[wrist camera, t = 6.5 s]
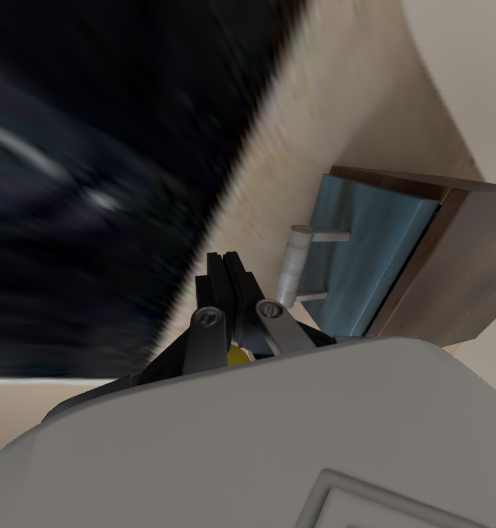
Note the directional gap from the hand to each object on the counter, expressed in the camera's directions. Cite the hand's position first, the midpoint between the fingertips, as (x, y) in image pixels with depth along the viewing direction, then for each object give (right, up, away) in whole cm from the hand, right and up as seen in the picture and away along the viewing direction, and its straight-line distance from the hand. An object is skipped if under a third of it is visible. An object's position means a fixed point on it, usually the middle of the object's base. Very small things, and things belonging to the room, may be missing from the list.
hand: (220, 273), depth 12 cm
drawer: (+11, +3, +8) cm, 14 cm away
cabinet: (+14, +4, +9) cm, 17 cm away
